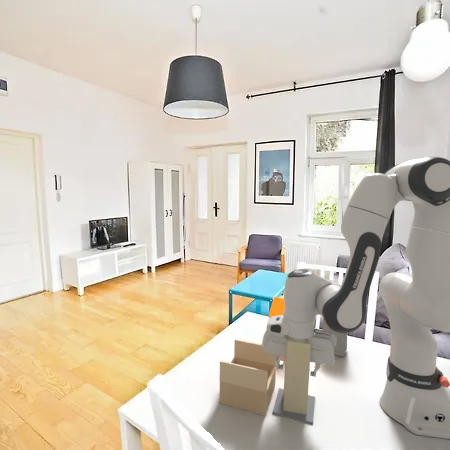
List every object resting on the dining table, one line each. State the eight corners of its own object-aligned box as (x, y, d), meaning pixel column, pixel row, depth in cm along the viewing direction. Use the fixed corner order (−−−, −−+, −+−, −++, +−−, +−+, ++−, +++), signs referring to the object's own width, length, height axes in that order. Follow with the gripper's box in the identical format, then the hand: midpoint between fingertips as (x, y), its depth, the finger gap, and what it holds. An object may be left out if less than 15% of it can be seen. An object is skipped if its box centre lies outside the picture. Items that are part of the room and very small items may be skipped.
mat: (315, 398, 90) (315, 396, 90) (312, 424, 80) (312, 422, 80) (279, 389, 94) (279, 388, 94) (272, 413, 84) (272, 411, 84)
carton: (275, 385, 96) (276, 347, 95) (265, 416, 83) (267, 372, 81) (234, 375, 101) (235, 339, 100) (219, 403, 87) (219, 361, 86)
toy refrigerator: (309, 416, 82) (313, 344, 80) (282, 411, 84) (285, 340, 82) (308, 397, 90) (311, 331, 88) (283, 393, 92) (286, 328, 89)
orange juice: (276, 339, 127) (278, 294, 125) (295, 345, 122) (298, 298, 120) (267, 346, 120) (269, 299, 118) (288, 354, 115) (290, 304, 113)
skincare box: (346, 350, 119) (349, 312, 117) (343, 358, 113) (345, 318, 111) (325, 344, 123) (327, 307, 122) (320, 352, 117) (322, 313, 116)
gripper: (337, 327, 84) (334, 373, 85) (265, 316, 91) (264, 358, 92) (337, 337, 78) (334, 386, 80) (261, 324, 85) (259, 370, 86)
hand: (296, 371), depth 86 cm, fingers open, 8 cm apart
